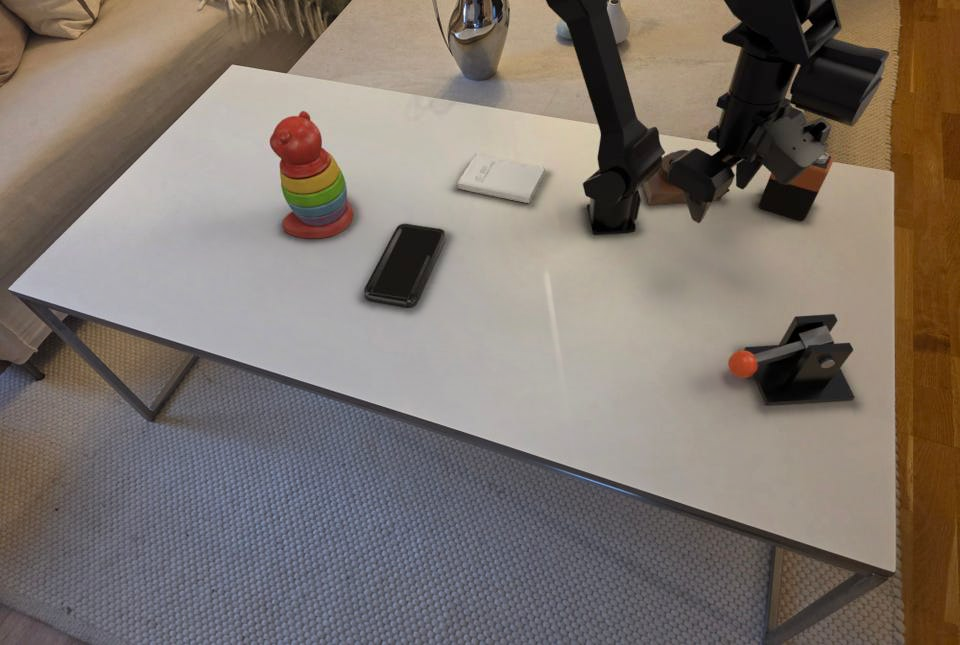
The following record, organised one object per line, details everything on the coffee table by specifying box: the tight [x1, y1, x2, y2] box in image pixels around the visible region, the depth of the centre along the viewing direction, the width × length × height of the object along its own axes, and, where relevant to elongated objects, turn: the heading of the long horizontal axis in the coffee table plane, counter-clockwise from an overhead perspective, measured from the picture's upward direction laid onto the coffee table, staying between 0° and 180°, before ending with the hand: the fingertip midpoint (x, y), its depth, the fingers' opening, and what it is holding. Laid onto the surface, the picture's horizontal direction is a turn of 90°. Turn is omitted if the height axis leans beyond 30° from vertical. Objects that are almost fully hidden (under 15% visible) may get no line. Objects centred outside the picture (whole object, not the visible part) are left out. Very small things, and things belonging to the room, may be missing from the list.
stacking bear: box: [269, 110, 354, 239], centre depth 87 cm, size 11×10×18 cm
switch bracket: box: [743, 313, 856, 407], centre depth 67 cm, size 10×8×9 cm
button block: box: [642, 151, 722, 206], centre depth 92 cm, size 11×9×4 cm
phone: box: [363, 223, 447, 308], centre depth 86 cm, size 8×1×15 cm
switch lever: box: [727, 326, 835, 379], centre depth 67 cm, size 11×3×3 cm, turn 93°
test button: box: [671, 149, 689, 163], centre depth 90 cm, size 4×4×2 cm
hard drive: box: [457, 154, 546, 204], centre depth 97 cm, size 2×8×12 cm
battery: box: [758, 151, 835, 221], centre depth 85 cm, size 4×7×10 cm, turn 58°
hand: (718, 203), depth 75 cm, fingers open, 9 cm apart
